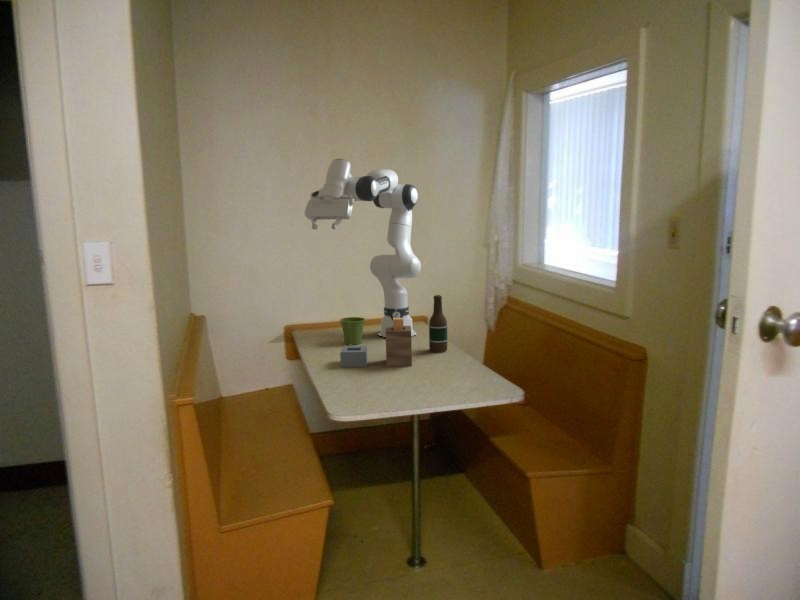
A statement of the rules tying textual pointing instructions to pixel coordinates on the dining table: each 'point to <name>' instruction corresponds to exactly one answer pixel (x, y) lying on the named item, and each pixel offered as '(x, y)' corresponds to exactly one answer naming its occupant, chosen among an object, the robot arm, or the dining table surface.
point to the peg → (397, 323)
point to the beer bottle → (438, 327)
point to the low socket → (353, 356)
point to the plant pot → (352, 329)
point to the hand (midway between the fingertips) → (323, 228)
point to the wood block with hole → (398, 346)
